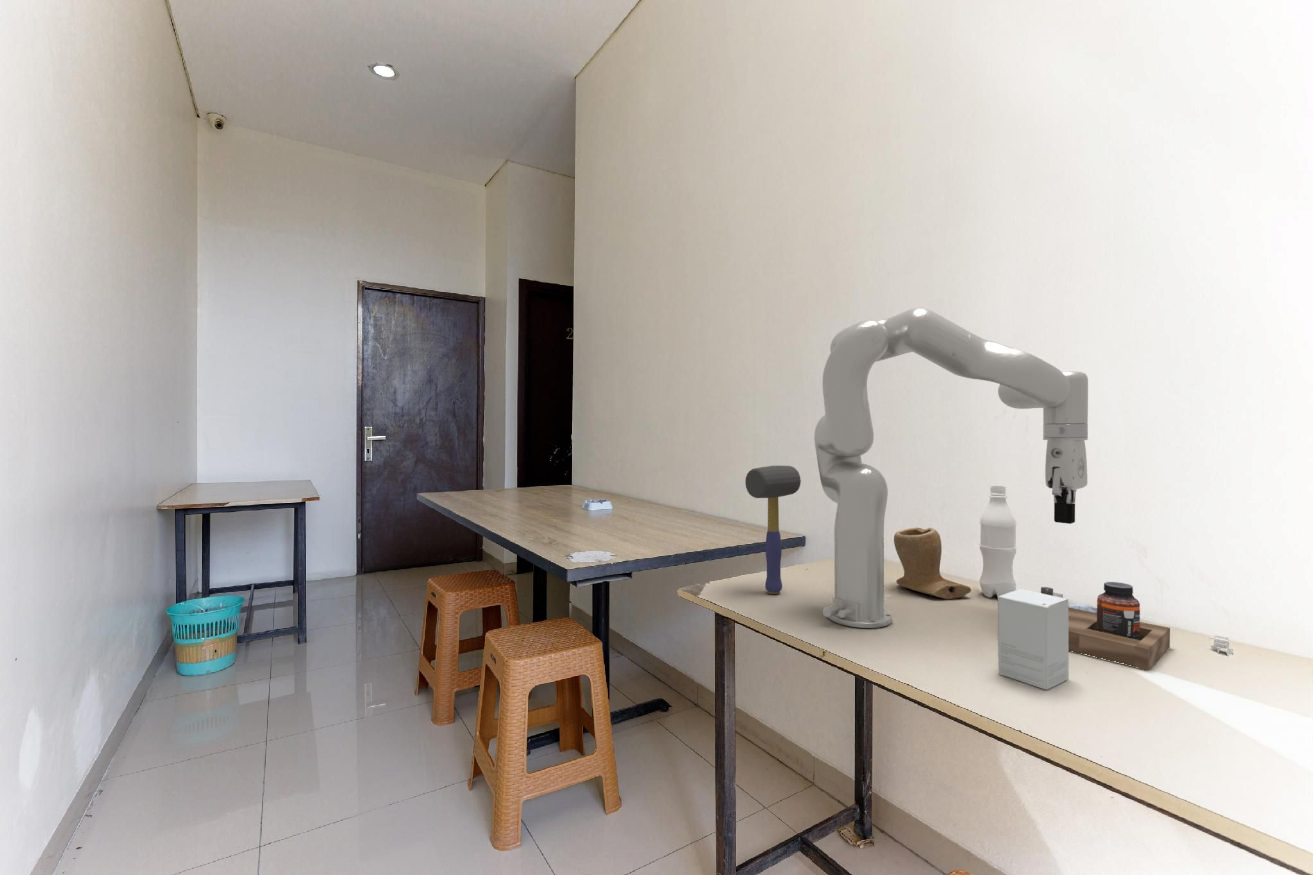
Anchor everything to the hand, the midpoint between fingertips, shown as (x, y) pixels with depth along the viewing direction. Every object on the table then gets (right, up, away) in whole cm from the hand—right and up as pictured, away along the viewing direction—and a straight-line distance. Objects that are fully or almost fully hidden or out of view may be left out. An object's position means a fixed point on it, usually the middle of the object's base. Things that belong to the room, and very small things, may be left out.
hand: (1064, 522), depth 122 cm
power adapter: (+12, -20, -20) cm, 31 cm away
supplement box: (-24, -20, -29) cm, 43 cm away
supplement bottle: (-3, -20, -18) cm, 27 cm away
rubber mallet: (-56, -19, +18) cm, 62 cm away
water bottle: (-6, -19, +14) cm, 24 cm away
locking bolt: (-7, -16, -6) cm, 18 cm away
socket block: (-6, -20, -14) cm, 25 cm away
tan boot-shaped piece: (-21, -19, +17) cm, 33 cm away
